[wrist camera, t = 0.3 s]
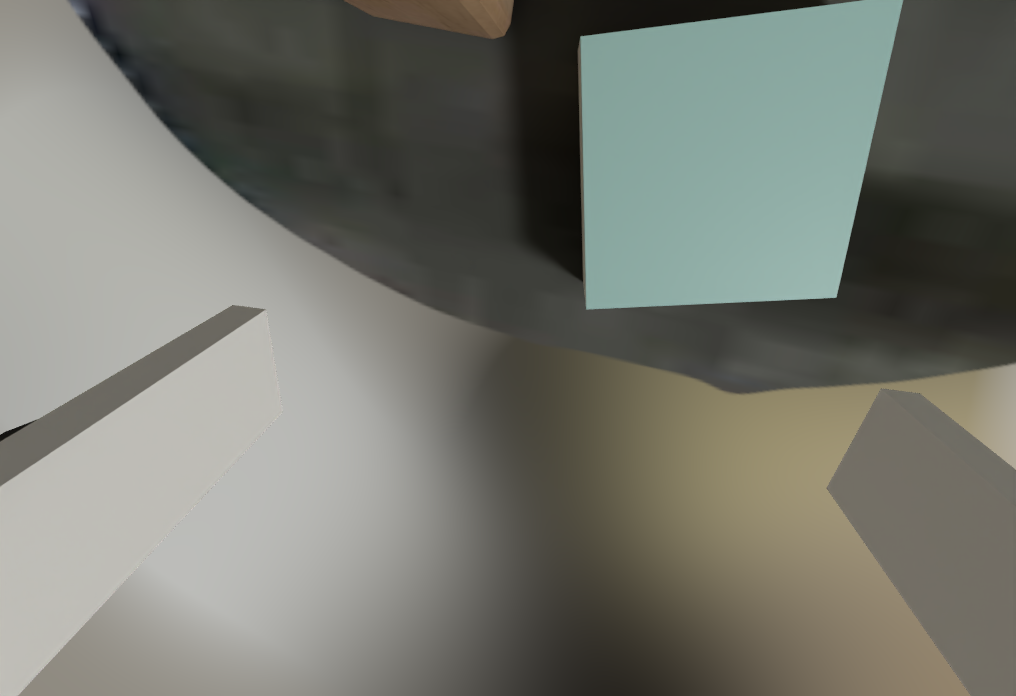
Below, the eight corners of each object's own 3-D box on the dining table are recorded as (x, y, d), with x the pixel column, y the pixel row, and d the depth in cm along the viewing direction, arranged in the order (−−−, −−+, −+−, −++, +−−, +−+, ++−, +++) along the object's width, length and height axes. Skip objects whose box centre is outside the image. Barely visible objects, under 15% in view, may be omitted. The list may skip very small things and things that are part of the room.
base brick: (577, 51, 31) (580, 36, 25) (840, 18, 29) (904, -5, 23) (583, 282, 38) (586, 309, 32) (795, 270, 35) (836, 297, 30)
